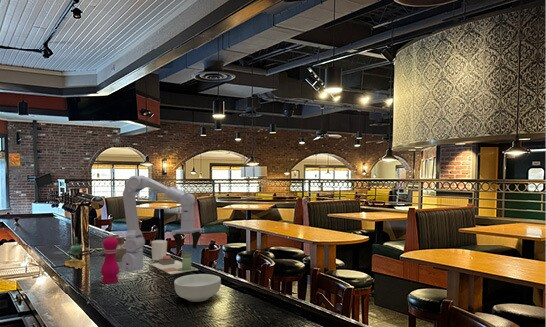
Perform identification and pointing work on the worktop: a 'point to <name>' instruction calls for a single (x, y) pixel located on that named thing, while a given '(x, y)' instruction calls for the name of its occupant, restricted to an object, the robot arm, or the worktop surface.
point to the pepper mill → (110, 260)
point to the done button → (166, 258)
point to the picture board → (171, 266)
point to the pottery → (119, 247)
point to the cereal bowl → (197, 286)
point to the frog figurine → (75, 251)
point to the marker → (186, 261)
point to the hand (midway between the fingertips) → (186, 249)
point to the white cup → (158, 249)
